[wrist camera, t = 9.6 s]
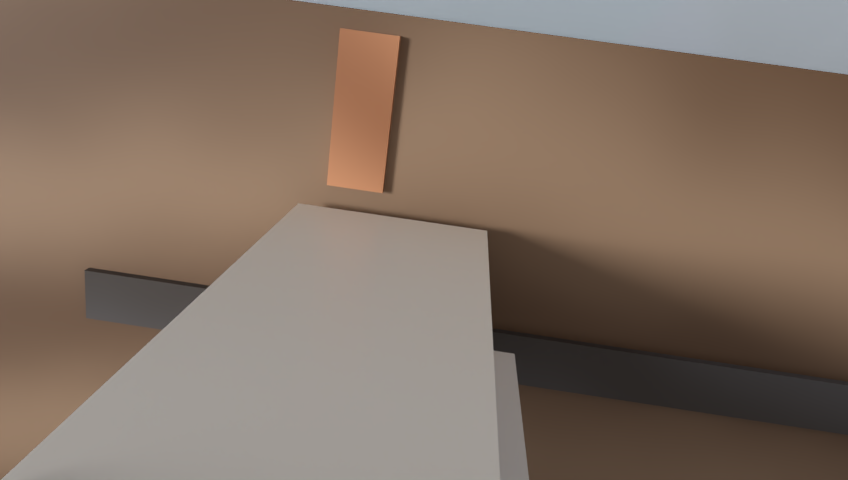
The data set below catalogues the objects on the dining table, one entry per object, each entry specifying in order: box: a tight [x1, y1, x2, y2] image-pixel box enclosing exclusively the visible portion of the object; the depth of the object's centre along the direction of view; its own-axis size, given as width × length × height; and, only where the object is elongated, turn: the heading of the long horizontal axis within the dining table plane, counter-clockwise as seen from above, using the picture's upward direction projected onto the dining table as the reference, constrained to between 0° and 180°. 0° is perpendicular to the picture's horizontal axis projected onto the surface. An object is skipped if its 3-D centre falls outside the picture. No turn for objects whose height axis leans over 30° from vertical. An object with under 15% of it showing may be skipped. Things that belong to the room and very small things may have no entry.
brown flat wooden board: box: [0, 0, 848, 480], centre depth 16 cm, size 14×32×2 cm, turn 83°
